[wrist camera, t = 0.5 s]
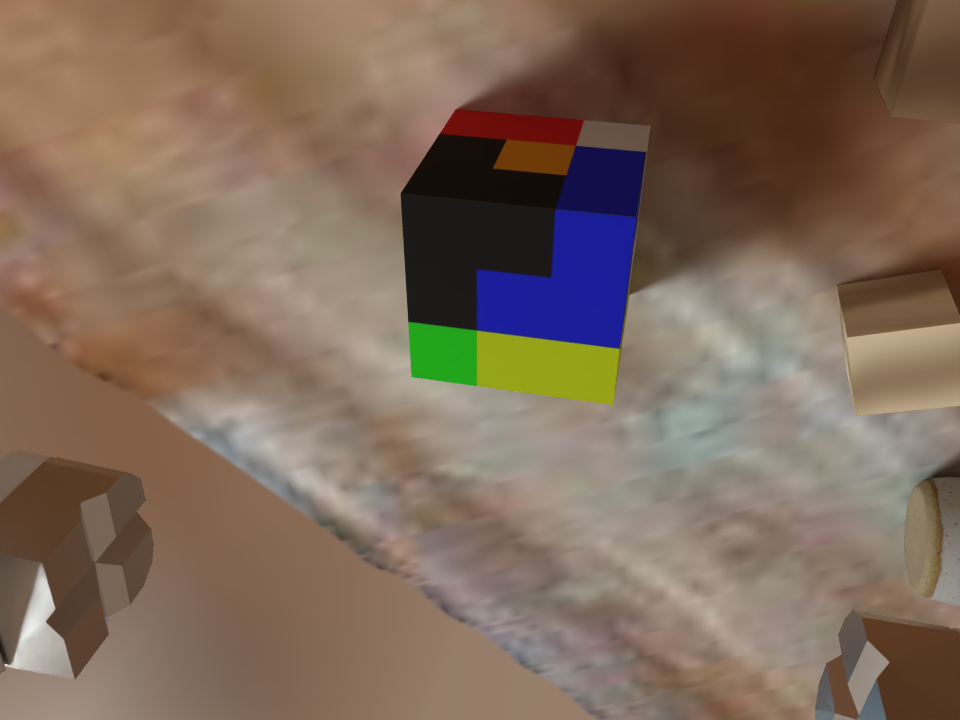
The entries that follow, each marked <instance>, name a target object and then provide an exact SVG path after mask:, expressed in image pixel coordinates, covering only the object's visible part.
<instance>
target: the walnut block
mask: <svg viewBox="0 0 960 720" xmlns="http://www.w3.org/2000/svg"><path fill="white" fill-rule="evenodd" d="M874 79H875V82H876V84H877V86H878V88H879V91H880V93H881V95H882V98H883V100H884V102H885V105H886V107H887V109H888V112H889V114H890V116H891V117H899V118H909V119H919V120H928V121H938V122H948V123H958V124H960V0H897V2H896V6H895V9H894V12H893V16H892V19H891V22H890V25H889V29H888V32H887V35H886V38H885V42H884V45H883V48H882V51H881V55H880V58H879V61H878V65H877V68H876V71H875V74H874Z"/></svg>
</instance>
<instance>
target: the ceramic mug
mask: <svg viewBox="0 0 960 720" xmlns="http://www.w3.org/2000/svg"><path fill="white" fill-rule="evenodd" d="M904 546H905V562H906V569H907V573H908V577H909V581H910V583H911V585H912V586H913V587H914V589H915V590H916V591H917V592H918V593H919V594H921V595H923V596H925V597H927V598H929V599H933V600H936V601H940V602H944V603H947V604H951V605H956V606H960V478H956V477H942V478H931V479H926V480H923V481H922V482H920V483H919V484H918V485H917V486H916V487H915V488H914V489H913V491H912V494H911V496H910V499H909V503H908V507H907V514H906V522H905V540H904Z"/></svg>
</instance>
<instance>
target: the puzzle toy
mask: <svg viewBox="0 0 960 720" xmlns="http://www.w3.org/2000/svg"><path fill="white" fill-rule="evenodd" d="M650 127H651V126H648V125H636V124H624V123H612V122H600V121H588V120H576V119H564V118H552V117H540V116H528V115H515V114H503V113H491V112H479V111H467V110H455V111H454V113H453V114H452V116H451V117H450V119H449V121H448V122H447V124H446V125H445V127H444V128H443V130H442V131H441V133H440V134H439V136H438V137H437V139H436V140H435V142H434V143H433V145H432V146H431V148H430V150H429V151H428V153H427V154H426V156H425V157H424V159H423V160H422V162H421V163H420V165H419V166H418V168H417V169H416V171H415V172H414V174H413V175H412V177H411V178H410V180H409V182H408V183H407V185H406V186H405V188H404V189H403V191H402V192H401V207H402V224H403V240H404V257H405V273H406V290H407V306H408V323H409V340H410V356H411V373H412V377H416V378H423V379H430V380H437V381H445V382H452V383H459V384H466V385H473V386H481V387H488V388H495V389H502V390H509V391H517V392H524V393H531V394H538V395H545V396H553V397H560V398H567V399H574V400H582V401H589V402H596V403H603V404H610V405H613V401H614V395H615V388H616V381H617V375H618V368H619V361H620V354H621V348H622V341H623V334H624V328H625V321H626V314H627V308H628V301H629V294H630V286H631V278H632V270H633V262H634V254H635V246H636V238H637V230H638V222H639V214H640V206H641V198H642V191H643V183H644V175H645V167H646V159H647V151H648V143H649V135H650Z"/></svg>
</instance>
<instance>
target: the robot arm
mask: <svg viewBox="0 0 960 720" xmlns="http://www.w3.org/2000/svg"><path fill="white" fill-rule="evenodd" d="M145 501H146V499H145V495H144V490H143V486H142V482H141V479H140V478H139V477H137V476H135V475H133V474H131V473H127V472H122V471H118V470H114V469H109V468H104V467H100V466H95V465H90V464H86V463H81V462H76V461H72V460H67V459H63V458H58V457H57V458H53V457H49V456H44V455H40V454H36V453H31V452H27V451H22V450H19V451H15V452H12V453H8V454H5V455H4V456H3V457H2V458H1V459H0V674H1V673H2V672H4V671H5V670H6V668H5V666H7V667H12V668H17V669H22V670H28V671H33V672H38V673H43V674H48V675H53V676H58V677H63V678H68V679H73V680H75V679H76V678H77V676H78V675H79V674H80V672H81V671H82V670H83V668H84V667H85V665H86V664H87V663H88V661H89V660H90V659H91V657H92V656H93V655H94V653H95V652H96V651H97V649H98V648H99V646H100V645H101V644H102V642H103V641H104V640H105V639H106V637H107V636H108V635H109V633H108V620H107V617H108V616H110V615H112V614H114V613H116V612H118V611H120V610H122V609H124V608H126V607H127V606H129V605H131V603H132V602H133V600H134V599H135V597H136V596H137V595H138V593H139V592H140V590H141V589H142V587H143V585H144V583H145V580H146V578H147V575H148V572H149V570H150V567H151V564H152V558H153V545H154V544H153V538H152V531H151V528H150V527H149V526H148V525H147V524H146V522H145V521H144V520H143V519H142V518H141V516H140V515H139V514H138V513H137V511H138V509H139V508H140V507H141V506H142V504H143V503H144V502H145ZM838 636H839V642H840V647H841V652H842V655H840V656H839V657H837V658H835V659H833V660H831V661H829V662H828V663H826V666H825V669H824V672H823V674H822V677H821V680H820V683H819V687H818V694H817V700H816V707H815V720H960V629H957V628H953V629H950V628H948V627H944V626H938V625H933V624H927V623H922V622H916V621H911V620H905V619H900V618H894V617H889V616H883V615H878V614H872V613H867V612H861V611H856V610H852V611H851V613H850V614H849V615H848V616H847V617H846V618H845V620H844V622H843V625H842V627H841V629H840V632H839V634H838Z"/></svg>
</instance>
